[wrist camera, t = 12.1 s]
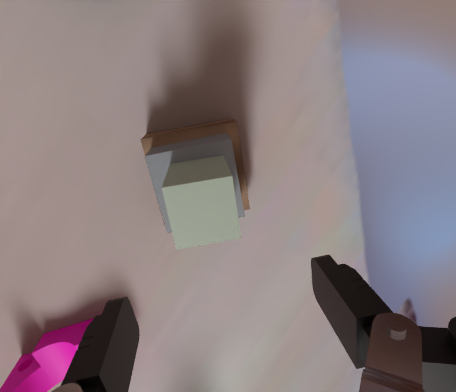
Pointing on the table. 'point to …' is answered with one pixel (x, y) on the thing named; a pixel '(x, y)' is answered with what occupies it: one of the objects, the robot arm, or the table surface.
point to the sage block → (201, 202)
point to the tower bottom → (199, 132)
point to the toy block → (46, 361)
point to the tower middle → (188, 151)
